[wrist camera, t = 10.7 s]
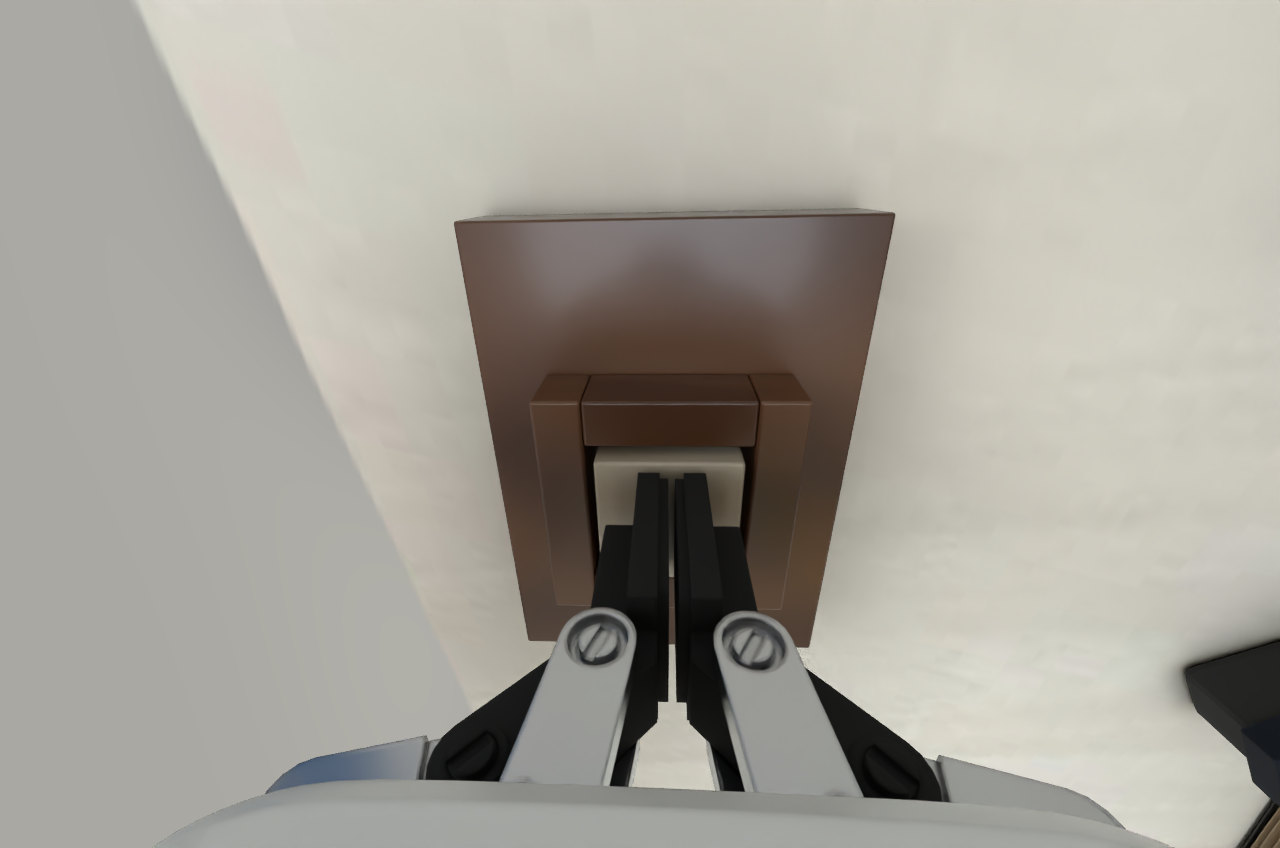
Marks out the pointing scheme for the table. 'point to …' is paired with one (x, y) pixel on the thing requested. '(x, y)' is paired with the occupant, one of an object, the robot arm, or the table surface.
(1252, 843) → the file folder
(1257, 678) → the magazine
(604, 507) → the beige switch key
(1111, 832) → the robot arm
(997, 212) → the table surface
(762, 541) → the brown switch frame
